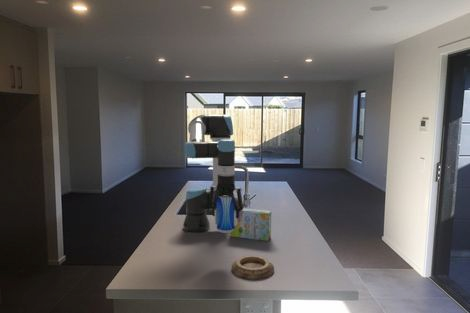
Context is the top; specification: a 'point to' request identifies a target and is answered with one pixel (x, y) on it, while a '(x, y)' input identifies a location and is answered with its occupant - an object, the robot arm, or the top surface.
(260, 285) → the top surface
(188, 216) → the robot arm
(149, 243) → the top surface
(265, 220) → the snack box
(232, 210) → the beer can
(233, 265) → the round brown bowl
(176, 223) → the top surface
